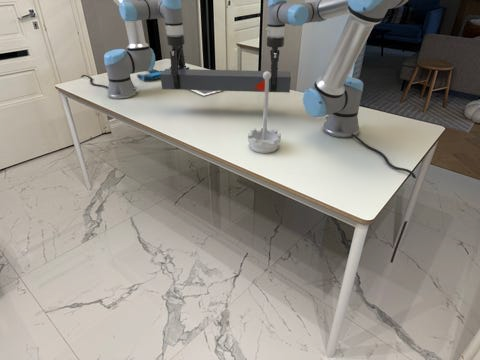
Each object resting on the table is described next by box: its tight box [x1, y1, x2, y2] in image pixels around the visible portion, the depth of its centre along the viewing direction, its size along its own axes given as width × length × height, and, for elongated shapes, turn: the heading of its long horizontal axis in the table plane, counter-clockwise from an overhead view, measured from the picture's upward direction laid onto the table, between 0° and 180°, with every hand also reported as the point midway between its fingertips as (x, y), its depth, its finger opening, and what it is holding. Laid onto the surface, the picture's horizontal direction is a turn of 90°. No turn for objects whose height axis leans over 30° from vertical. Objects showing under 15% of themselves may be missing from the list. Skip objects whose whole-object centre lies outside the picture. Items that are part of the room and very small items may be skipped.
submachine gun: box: [136, 66, 190, 82], centre depth 223 cm, size 34×4×25 cm
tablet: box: [189, 90, 222, 97], centre depth 203 cm, size 32×20×1 cm, turn 41°
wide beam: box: [160, 68, 292, 94], centre depth 159 cm, size 60×10×7 cm, turn 85°
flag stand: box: [247, 70, 282, 154], centre depth 129 cm, size 13×13×30 cm
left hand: (180, 85), depth 162 cm, fingers closed on wide beam, 10 cm apart
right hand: (273, 87), depth 159 cm, fingers closed on wide beam, 10 cm apart
